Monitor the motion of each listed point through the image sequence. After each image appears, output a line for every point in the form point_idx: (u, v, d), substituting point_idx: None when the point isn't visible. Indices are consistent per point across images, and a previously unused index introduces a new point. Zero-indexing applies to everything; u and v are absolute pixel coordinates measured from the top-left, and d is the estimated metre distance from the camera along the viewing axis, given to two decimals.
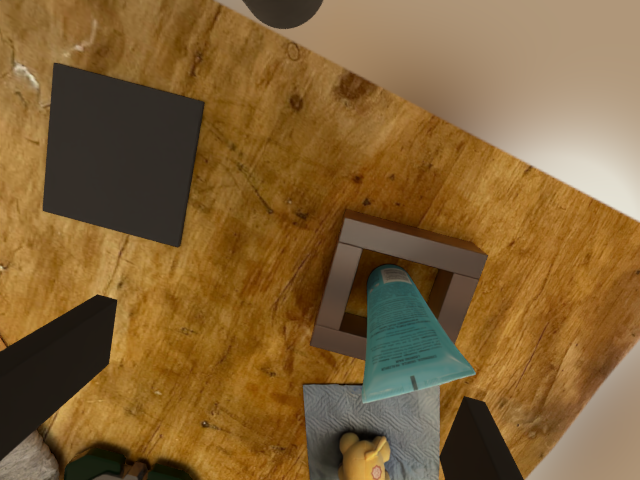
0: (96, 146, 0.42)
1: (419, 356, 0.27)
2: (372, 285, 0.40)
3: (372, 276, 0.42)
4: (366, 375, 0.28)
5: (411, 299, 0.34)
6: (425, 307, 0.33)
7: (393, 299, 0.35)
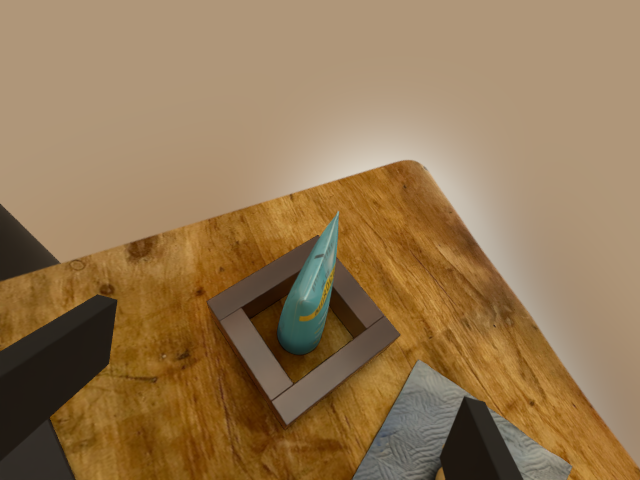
0: None
1: (311, 254, 0.30)
2: (279, 329, 0.40)
3: (278, 333, 0.42)
4: (295, 298, 0.27)
5: None
6: None
7: None
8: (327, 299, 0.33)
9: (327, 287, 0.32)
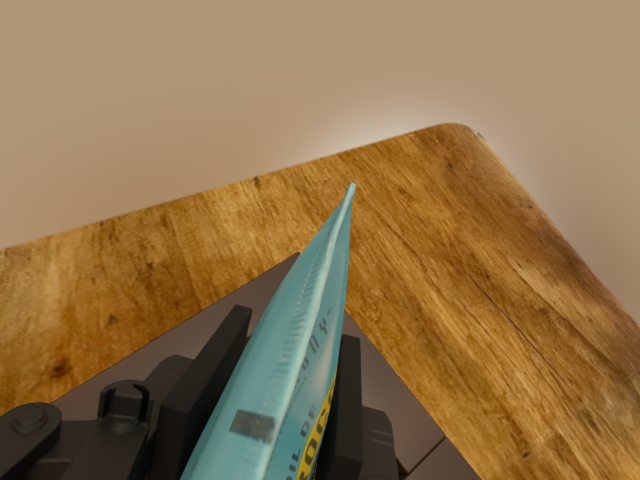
0: None
1: (239, 369, 0.07)
2: None
3: None
4: None
5: None
6: None
7: None
8: (312, 472, 0.11)
9: (310, 454, 0.09)
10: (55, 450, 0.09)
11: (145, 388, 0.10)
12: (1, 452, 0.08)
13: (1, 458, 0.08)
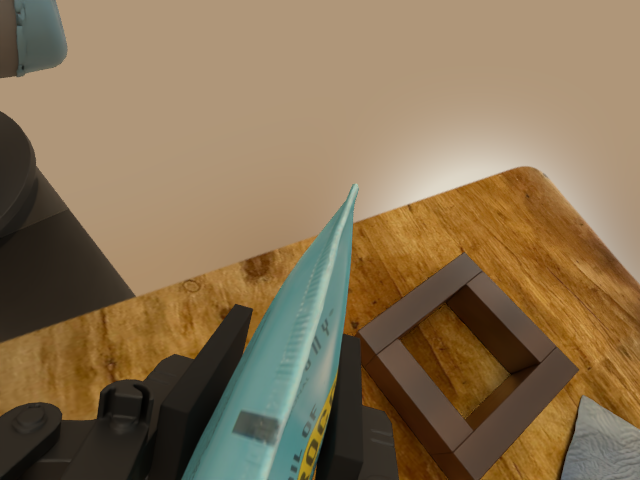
0: None
1: (241, 370, 0.07)
2: None
3: None
4: None
5: None
6: None
7: None
8: (313, 472, 0.11)
9: (311, 455, 0.09)
10: (55, 450, 0.09)
11: (145, 388, 0.10)
12: (1, 452, 0.08)
13: (1, 458, 0.08)
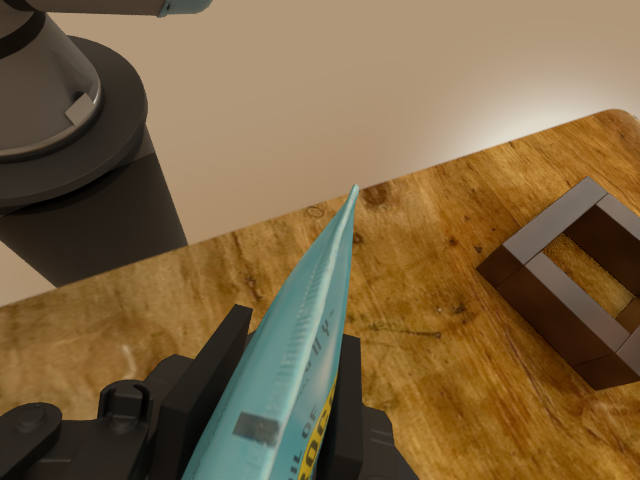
0: None
1: (241, 371, 0.07)
2: None
3: None
4: None
5: None
6: None
7: None
8: (312, 473, 0.11)
9: (311, 456, 0.09)
10: (55, 450, 0.09)
11: (145, 388, 0.10)
12: (1, 452, 0.08)
13: (1, 458, 0.08)
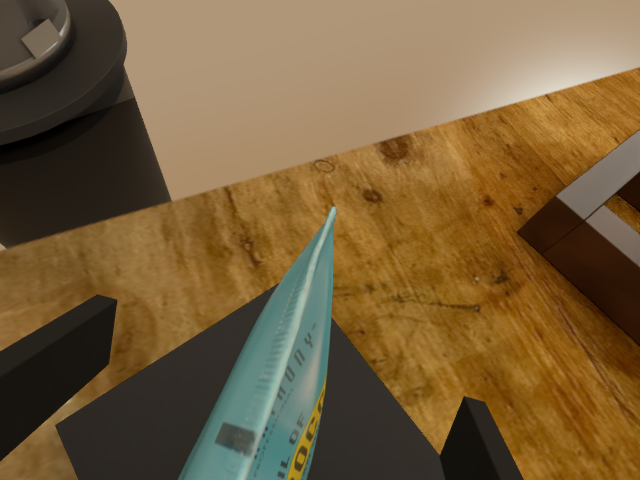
0: None
1: None
2: None
3: None
4: None
5: None
6: None
7: None
8: (304, 477, 0.11)
9: (300, 461, 0.10)
10: None
11: None
12: None
13: None
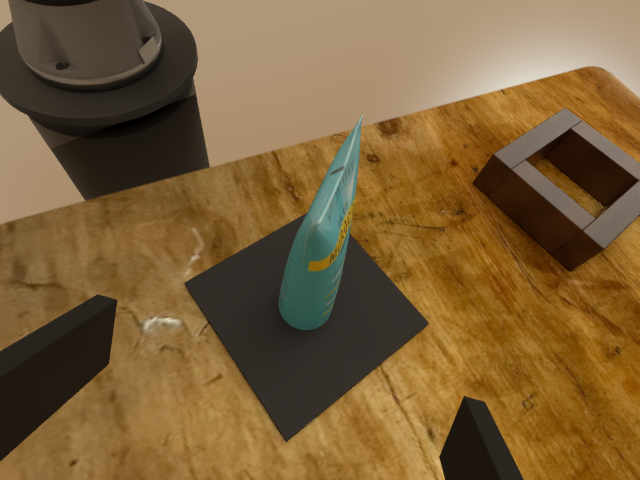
0: None
1: None
2: (281, 296, 0.32)
3: (279, 303, 0.34)
4: (305, 229, 0.20)
5: None
6: None
7: None
8: (344, 247, 0.25)
9: (345, 228, 0.24)
10: None
11: None
12: None
13: None
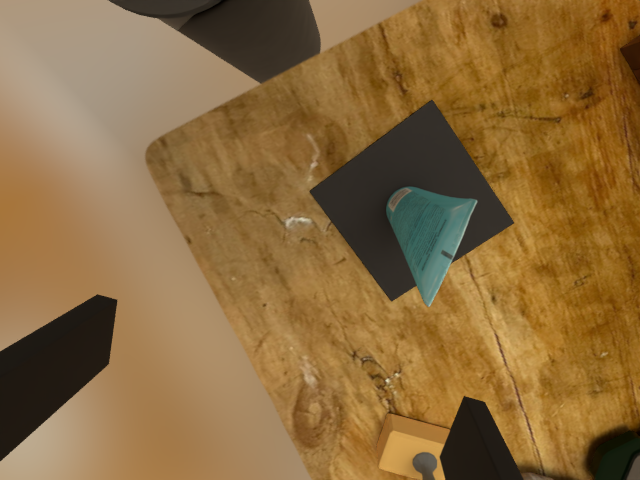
0: None
1: (437, 232, 0.27)
2: (390, 222, 0.40)
3: (387, 216, 0.42)
4: (418, 285, 0.28)
5: (413, 200, 0.34)
6: (425, 195, 0.33)
7: (402, 216, 0.35)
8: None
9: None
10: None
11: None
12: None
13: None
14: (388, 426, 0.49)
